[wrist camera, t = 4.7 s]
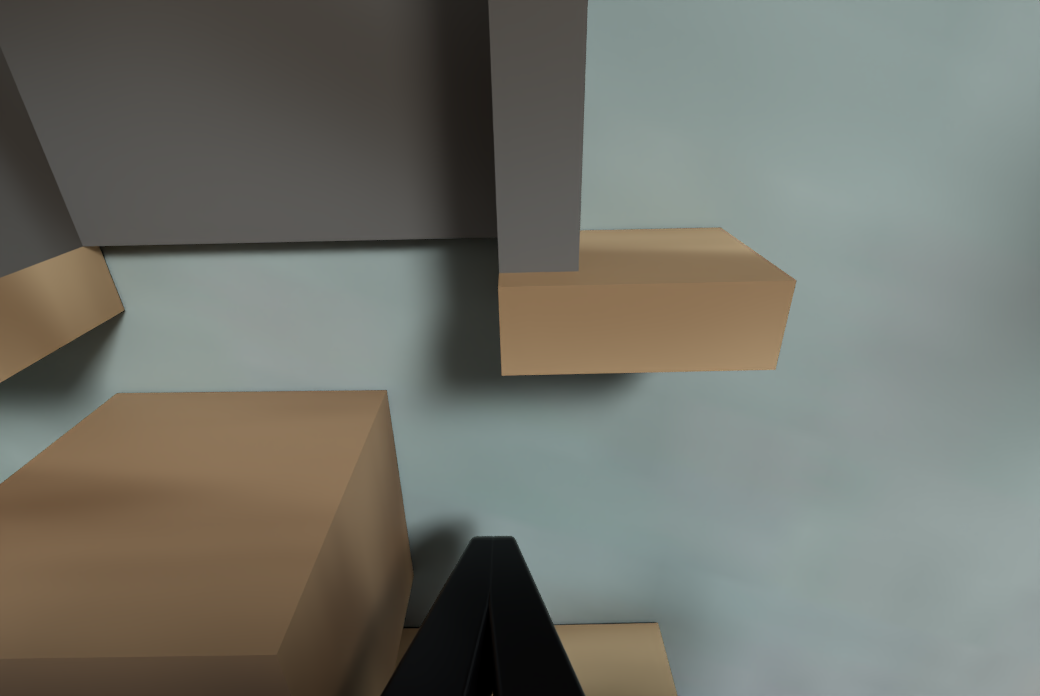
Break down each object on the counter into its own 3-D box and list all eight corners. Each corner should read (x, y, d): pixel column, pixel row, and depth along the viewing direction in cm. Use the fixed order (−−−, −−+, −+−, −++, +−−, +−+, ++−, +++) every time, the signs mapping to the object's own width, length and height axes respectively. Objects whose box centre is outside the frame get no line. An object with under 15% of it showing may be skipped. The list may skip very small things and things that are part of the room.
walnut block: (413, 575, 12) (353, 869, 7) (195, 578, 12) (4, 875, 7) (386, 389, 10) (277, 654, 5) (117, 393, 10) (-227, 661, 5)
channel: (653, 652, 13) (680, 767, 11) (24, 666, 13) (-75, 784, 11) (832, -481, 5) (1079, -916, 3) (-811, -444, 5) (-1837, -851, 3)
